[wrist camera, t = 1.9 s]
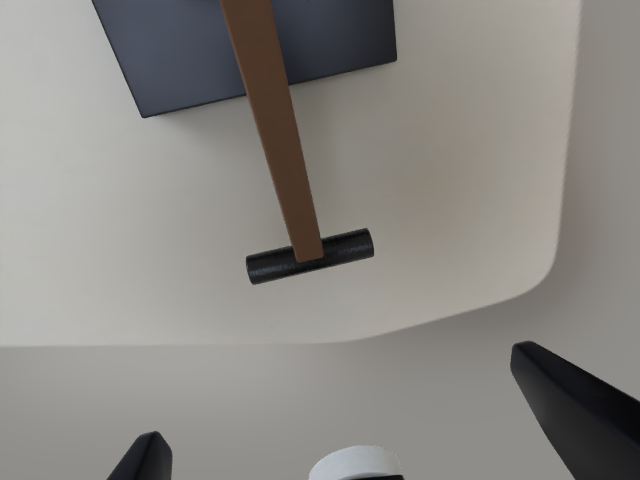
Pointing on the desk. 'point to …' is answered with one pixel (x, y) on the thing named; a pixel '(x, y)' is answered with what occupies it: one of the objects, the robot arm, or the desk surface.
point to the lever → (282, 150)
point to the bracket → (217, 51)
